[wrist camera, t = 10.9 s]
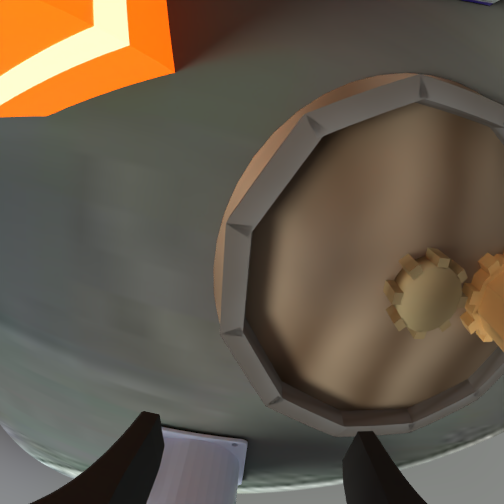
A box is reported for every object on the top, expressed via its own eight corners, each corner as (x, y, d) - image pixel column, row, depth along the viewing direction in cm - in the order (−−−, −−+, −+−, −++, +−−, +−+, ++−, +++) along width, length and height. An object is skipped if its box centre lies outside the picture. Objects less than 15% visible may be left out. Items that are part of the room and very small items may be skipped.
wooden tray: (211, 410, 22) (206, 435, 20) (233, 43, 14) (226, 28, 12) (478, 407, 22) (489, 425, 19) (566, 139, 13) (589, 143, 11)
